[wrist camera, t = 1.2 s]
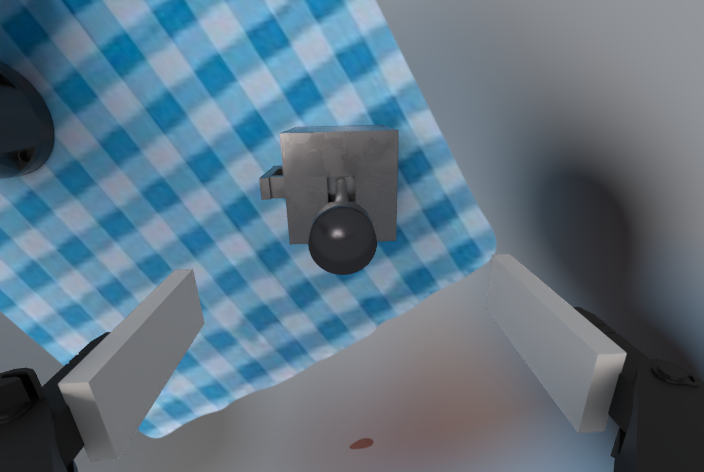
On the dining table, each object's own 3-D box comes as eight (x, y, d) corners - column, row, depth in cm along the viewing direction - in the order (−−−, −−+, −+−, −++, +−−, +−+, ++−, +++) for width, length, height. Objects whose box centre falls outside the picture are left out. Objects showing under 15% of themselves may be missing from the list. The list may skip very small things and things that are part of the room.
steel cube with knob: (382, 124, 48) (398, 130, 35) (381, 208, 52) (396, 240, 39) (274, 127, 48) (249, 134, 35) (282, 211, 52) (263, 245, 39)
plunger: (377, 144, 39) (411, 174, 21) (377, 217, 42) (407, 299, 24) (301, 146, 39) (268, 179, 21) (306, 219, 42) (281, 304, 24)
